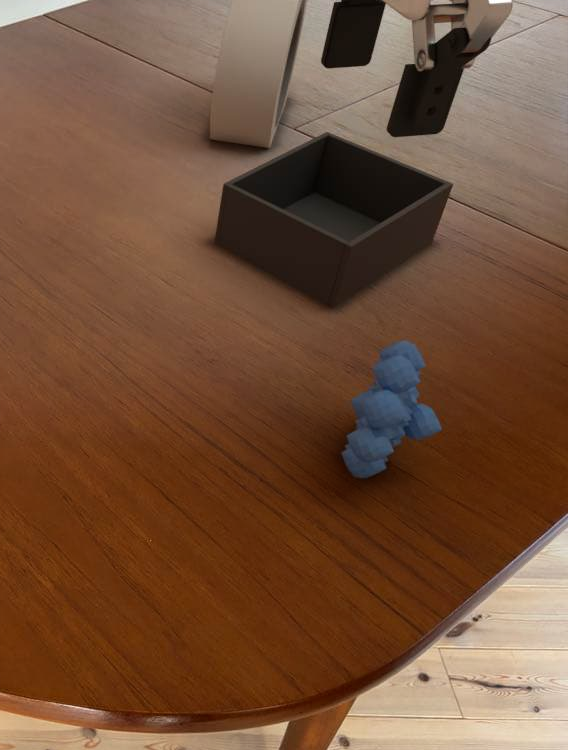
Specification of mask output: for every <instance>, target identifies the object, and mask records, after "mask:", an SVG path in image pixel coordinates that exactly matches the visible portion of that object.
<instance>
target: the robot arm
mask: <svg viewBox="0 0 568 750" xmlns="http://www.w3.org/2000/svg"><path fill="white" fill-rule="evenodd" d="M431 1H432V0H340V1H333V5H332V10H331V15H330V19H329V22H328V27H327V32H326V36H325V41H324V45H323V49H322V54H321V58H320V63H321V65H322V66H323V67H324V68H325V69H344V68H357V67H366V66H368V65H369V64H370V62H371V61H372V58H373V54H374V50H375V46H376V42H377V40H378V39H377V38H378V35H379V31H380V27H381V24H382V20H383V17H384V13H385V8H386V5H387V6H388V7H390V8H391V9H392V10H393V11H395V12H396V13H397V14H399V15H400V16H402V17H403V18H405V19H406V20H408V21H411V28H412V44H413V59H414V63H407V64H406V63H405V65H404V68H403V71H402V74H401V78H400V82H399V85H398V88H397V91H396V95H395V98H394V102H393V105H392V108H391V111H390V115H389V119H388V122H387V125H386V132H387V133H388V134H389V135H390V136H391V137H392V138H403V137H405V138H406V137H418V136H430V135H437V134H440V133H441V132H443V130H444V128H445V126H446V122H447V120H448V117H449V114H450V111H451V109H452V106H453V102H454V100H455V97H456V95H457V94H456V93H457V91H458V87H459V85H460V82H461V79H462V77H463V73H464V71H465V69H470V68H471V67H472V66H473V65H474V63H475V61H476V58H477V57H478V56H479V55H481V54H483V53H484V52H485V51H487V50H488V49H489V47H490V45H491V42H492V39H493V37H494V36H495V35H496V33H497V32H498V31H499V29H500V28H501V27H502V26H503V24H504V23H505V21H506V20H507V19H508V18H509V16H510V15H511V13H512V11H513V3H514V2H513V0H448V1H449V2H451V3H439V4H438V3H437V4H431ZM445 23H448V24H449V23H450V26H451V27H450V29H451V30H450V31H448V32H447V33H446V34H444V35H443V36H442V37H441V38H440V39H439V40H437V41H436V28H435V24H445Z"/></svg>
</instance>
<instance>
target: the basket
mask: <svg viewBox="0 0 568 750" xmlns="http://www.w3.org/2000/svg"><path fill="white" fill-rule="evenodd" d="M453 187H454V183H452V182H450V181H448V180H445V179H443V178H440V177H438V176H435V175H433V174H430V173H428V172H426V171H423V170H421V169H419V168H416V167H414V166H411V165H410V164H407V163H404V162H402V161H400V160H396V159H394V158H392V157H390V156H387V155H384V154H382V153H379V152H378V151H375V150H372V149H370V148H367V147H365V146H362V145H360V144H358V143H356V142H353V141H351V140H349V139H346V138H343V137H342V136H338V135H336V134H334V133H331V132H329V131H325V132H323V133H321V134H320V135H317V136H316V137H314V138H312V139H309V140H308V141H305V142H304V143H302V144H300V145H297V146H296V147H294V148H292V149H290V150H287V151H286V152H283V153H282V154H280V155H278V156H276V157H273V158H272V159H270V160H268V161H266V162H264V163H262V164H260V165H258V166H256V167H254V168H252V169H250V170H248V171H246V172H244V173H242V174H240V175H238V176H236V177H233V178H232V179H230V180H228V181H226V182H225V183H223V184H222V191H221V197H220V202H219V203H220V204H219V208H218V209H219V210H218V216H217V223H216V229H215V236H214V244H215V245H216V246H219V247H220V248H222V249H224V250H226V251H228V252H229V253H232V254H233V255H235V256H237V257H238V258H240V259H243V260H244V261H246V262H248V263H249V264H252V265H253V266H255V267H257V268H258V269H260V270H262V271H264V272H266V273H267V274H270V275H271V276H273V277H275V278H277V279H279V280H281V282H284V283H286V284H287V285H290V286H291V287H293V288H295V289H297V290H299V291H300V292H303V293H304V294H306V295H307V296H309V297H311V298H313V299H315V300H317V301H319V302H320V303H322V304H324V305H326V306H328V307H329V308H331V309H335V308H338V306H340V305H342V304H343V303H344V302H346V301H348V300H349V299H351V298H352V297H353V296H355V295H356V294H358V293H359V292H361V291H362V290H364V289H366V288H367V287H368V286H371V284H374V282H376V281H378V280H379V279H380V278H382V277H384V276H385V275H387V274H388V273H390V272H391V271H393V270H394V269H396V268H397V267H399V266H400V265H402V264H403V263H405V262H406V261H408V260H409V259H412V258H413V257H414V256H415V255H417V254H418V253H420V252H422V251H423V250H425V249H426V248H428V247H429V246H432V244H433V241H434V238H435V236H436V234H437V230H438V228H439V225H440V223H441V219H442V217H443V214H444V211H445V208H446V205H447V203H448V200H449V197H450V194H451V192H452V189H453Z"/></svg>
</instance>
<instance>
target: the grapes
mask: <svg viewBox="0 0 568 750" xmlns="http://www.w3.org/2000/svg"><path fill="white" fill-rule="evenodd" d="M420 352H421V351H420V350H419V348H418V347H417V345H416V344H414V343H413V342H411V341H408V340H407V339H404V340H400V341H397V342H394V343H391V344H390V345H388V346H386V347H385V348H383V349H382V350H380V351H378V355H379V357H380V358H379V359H378V360H376V361H375V362H376V364H375V365H374V366H372V367H371V369H372V372H373V375H374V377H375V380H373V384H371V385H370V386H368V387H367V388H366V390H365V391H363V392H361V393H359V394H357V395H356V396H354V397H352V398H351V399H349V402H350V404H351V407H352V408H353V412H354V414H355V416H356V417H357V418H356V419H355V420H354V421H355V425H356V427H355V429H356V430H353V431H352V432H350V433H348V434H347V435H346V439H347V441H348V443H346V444H345V445H344V447H345V450H343V451H341V452H340V453H341V456H342V459H343V461H344V464H345V466H346V468H347V470H348V471H349V473H350V474H351V475H352V476H353V477H354V478H358V479H368V478H370V477H372V476H375V475H377V474H379V473H381V472H383V471H384V470H386V469H387V466H386V463H387V462H389V458H388V456H389V455H391V454H392V453H394V452H395V451H394V448H395V447H397V446H399V445H402V441H403V437H406V438H408V440H412V441H422V440H425V439H428V438H430V437H432V436H434V435H436V434H438V433H439V432H442V430H443V428H442V424H441V423H440V421H439V418H438V416H437V414H436V412H435V411H434V409H433V408H432V407H430V406H429V405H427V404H425V403H418V400H419V399H418V397H420V396H421V395H420V393H419V391H418V388H417V387H416V386H418V385H419V384H421V380H420V376H422V374H421V370H422V369H424V368H426V363H425V361H424V358H423V356H422V354H421V353H420Z"/></svg>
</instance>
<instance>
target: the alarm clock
mask: <svg viewBox="0 0 568 750" xmlns="http://www.w3.org/2000/svg"><path fill="white" fill-rule="evenodd" d="M307 5H308V0H230V4H229V7H228V12H227V15H226V18H225V24H224V28H223V33H222V37H221V43H220V47H219V52H218V53H219V54H218V57H217V64H216V69H215V74H214V75H215V76H214V82H213V87H212V88H213V89H212V95H211V97H212V98H211V106H210V119H209V120H210V121H209V135H210V140H212V141H219V142H225V143H234V144H238V145H246V146H253V147H259V148H266V149H270V148H271V146H272V142H273V140H274V137H275V134H276V133H277V132H276V131H277V128H278V126H279V123H280V120H281V118H282V114H283V112H284V108H285V106H286V103H287V99H288V95H289V91H290V88H291V87H290V86H291V82H292V77H293V74H294V69H295V65H296V60H297V56H298V53H299V46H300V42H301V37H302V33H303V26H304V21H305V16H306V12H307Z"/></svg>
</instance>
